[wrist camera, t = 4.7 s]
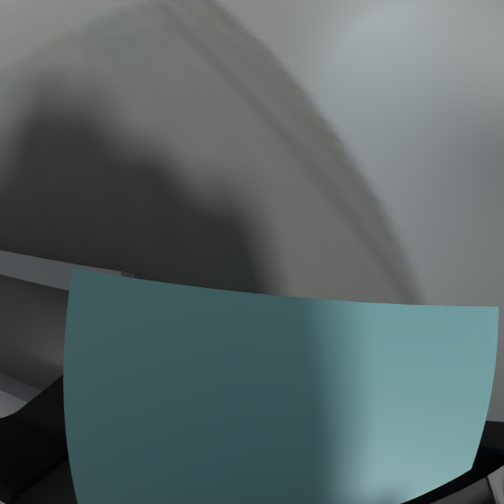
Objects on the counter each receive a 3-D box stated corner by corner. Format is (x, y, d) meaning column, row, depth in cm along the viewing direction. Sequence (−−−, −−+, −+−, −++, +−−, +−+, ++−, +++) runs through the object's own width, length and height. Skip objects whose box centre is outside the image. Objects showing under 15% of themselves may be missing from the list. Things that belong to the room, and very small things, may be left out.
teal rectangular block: (285, 319, 16) (498, 306, 3) (281, 372, 15) (471, 469, 3) (177, 309, 15) (72, 268, 2) (172, 363, 14) (79, 510, 2)
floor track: (140, 276, 15) (122, 264, 11) (129, 429, 13) (113, 456, 9) (-10, 249, 13) (-42, 235, 10) (-19, 376, 11) (-51, 381, 7)
